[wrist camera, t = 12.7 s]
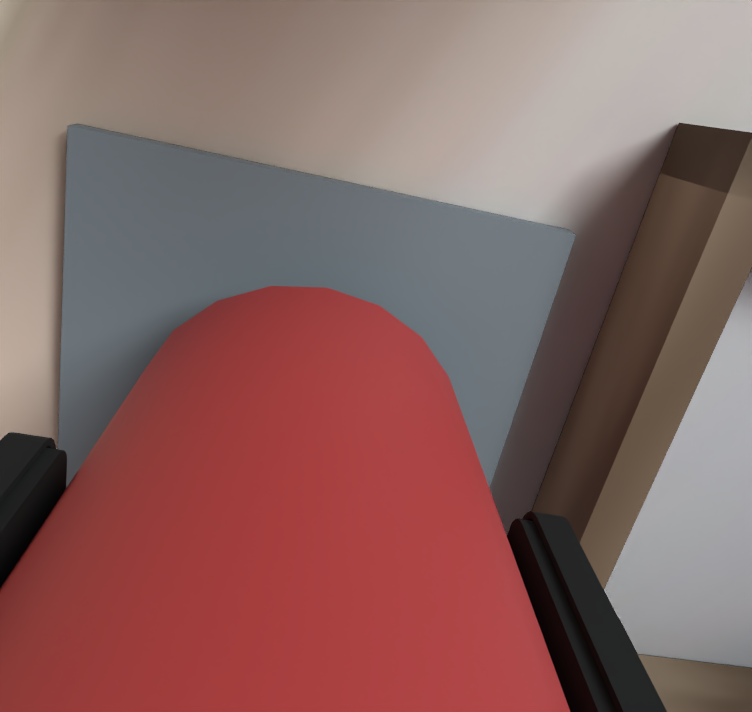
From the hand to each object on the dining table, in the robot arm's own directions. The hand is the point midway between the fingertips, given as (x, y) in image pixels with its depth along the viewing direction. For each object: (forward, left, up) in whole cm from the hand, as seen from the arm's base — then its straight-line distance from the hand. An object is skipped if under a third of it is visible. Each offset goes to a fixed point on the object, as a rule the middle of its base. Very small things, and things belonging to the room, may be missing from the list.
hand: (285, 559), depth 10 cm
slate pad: (0, 0, -5) cm, 5 cm away
